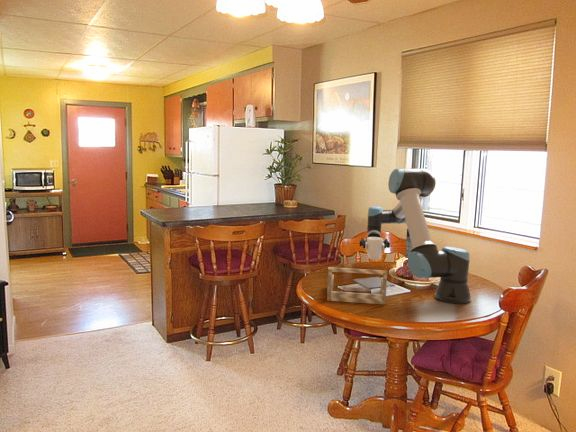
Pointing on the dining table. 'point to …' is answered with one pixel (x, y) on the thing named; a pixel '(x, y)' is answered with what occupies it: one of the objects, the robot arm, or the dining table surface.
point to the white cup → (374, 248)
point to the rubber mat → (371, 282)
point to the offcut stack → (356, 290)
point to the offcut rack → (356, 296)
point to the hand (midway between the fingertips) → (374, 247)
